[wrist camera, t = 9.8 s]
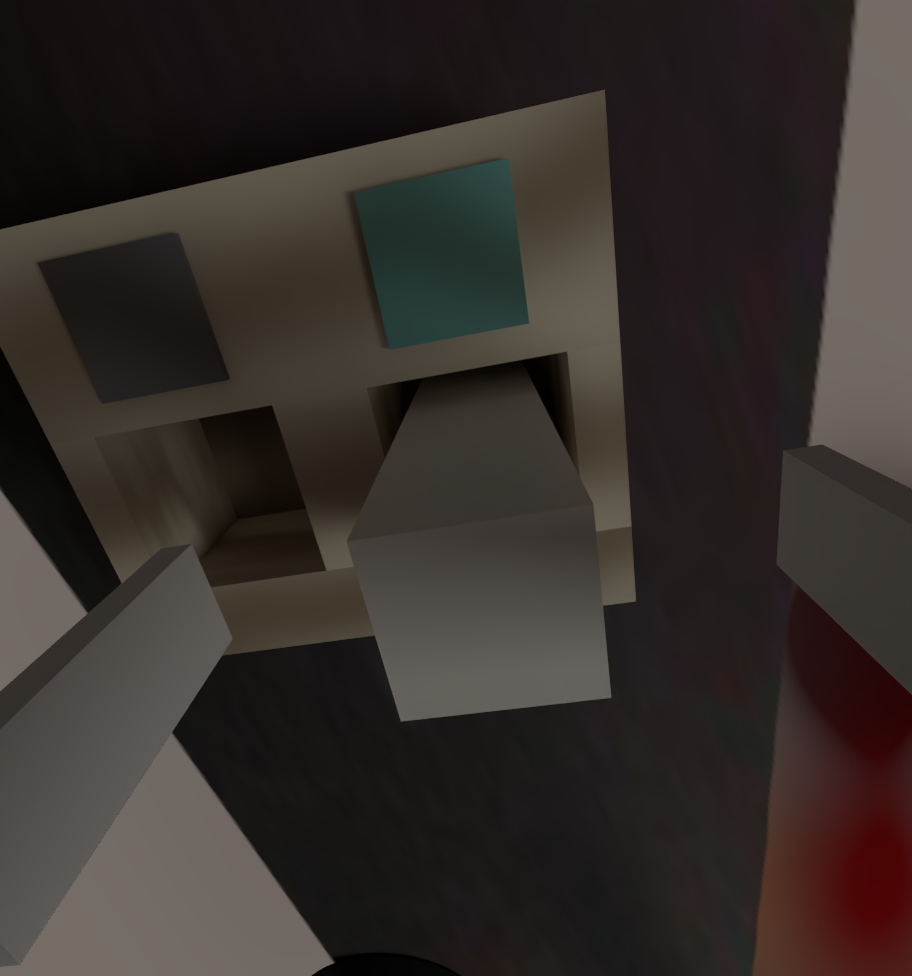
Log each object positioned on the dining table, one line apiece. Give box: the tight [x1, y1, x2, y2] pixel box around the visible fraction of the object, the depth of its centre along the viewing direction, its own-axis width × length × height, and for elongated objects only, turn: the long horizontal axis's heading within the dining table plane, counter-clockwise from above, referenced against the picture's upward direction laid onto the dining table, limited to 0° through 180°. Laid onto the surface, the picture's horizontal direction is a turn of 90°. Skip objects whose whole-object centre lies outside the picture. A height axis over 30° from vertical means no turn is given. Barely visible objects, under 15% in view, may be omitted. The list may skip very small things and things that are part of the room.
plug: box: [347, 360, 611, 721], centre depth 15 cm, size 4×4×14 cm
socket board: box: [0, 90, 636, 655], centre depth 19 cm, size 15×18×7 cm
